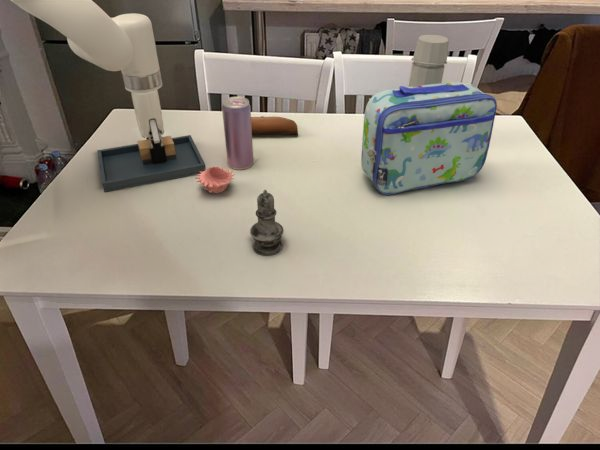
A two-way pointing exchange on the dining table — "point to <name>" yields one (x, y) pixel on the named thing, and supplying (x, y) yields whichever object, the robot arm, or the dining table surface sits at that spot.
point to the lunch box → (426, 135)
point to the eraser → (146, 153)
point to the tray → (147, 165)
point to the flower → (215, 179)
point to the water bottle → (429, 60)
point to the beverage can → (238, 132)
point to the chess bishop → (266, 227)
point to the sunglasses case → (273, 125)
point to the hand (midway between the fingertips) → (158, 156)
